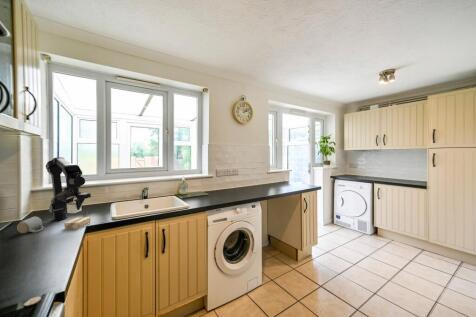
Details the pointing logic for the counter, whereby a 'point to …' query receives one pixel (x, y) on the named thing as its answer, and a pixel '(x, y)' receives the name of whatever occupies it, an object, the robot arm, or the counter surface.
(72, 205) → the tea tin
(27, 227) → the ceramic mug
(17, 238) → the counter surface
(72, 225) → the oak block
